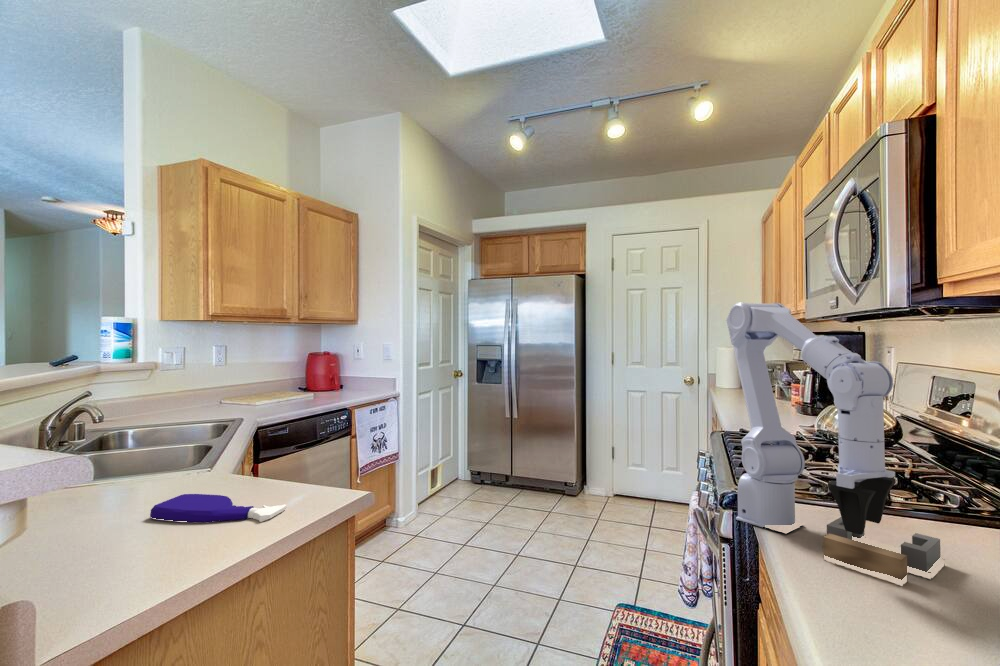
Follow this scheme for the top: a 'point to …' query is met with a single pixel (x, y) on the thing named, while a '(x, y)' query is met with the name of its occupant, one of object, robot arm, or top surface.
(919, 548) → the end caps
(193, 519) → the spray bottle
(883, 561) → the slat
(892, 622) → the top surface
